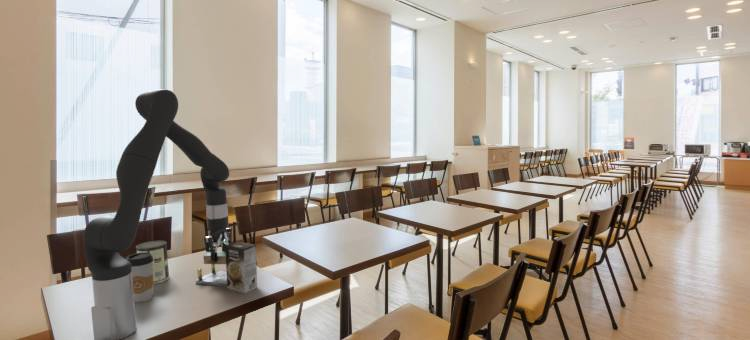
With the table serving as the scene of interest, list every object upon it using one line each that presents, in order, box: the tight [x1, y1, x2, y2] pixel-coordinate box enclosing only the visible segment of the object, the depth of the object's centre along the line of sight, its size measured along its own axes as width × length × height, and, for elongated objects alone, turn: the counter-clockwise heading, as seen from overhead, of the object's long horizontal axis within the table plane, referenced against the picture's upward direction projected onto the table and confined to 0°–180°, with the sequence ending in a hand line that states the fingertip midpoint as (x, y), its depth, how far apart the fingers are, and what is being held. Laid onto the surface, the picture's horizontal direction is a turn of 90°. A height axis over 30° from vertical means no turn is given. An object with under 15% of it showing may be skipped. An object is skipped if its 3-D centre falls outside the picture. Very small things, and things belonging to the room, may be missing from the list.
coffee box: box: [225, 241, 258, 294], centre depth 141 cm, size 9×6×16 cm
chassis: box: [195, 264, 227, 287], centre depth 150 cm, size 11×14×5 cm
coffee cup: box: [125, 252, 154, 303], centre depth 134 cm, size 8×8×15 cm
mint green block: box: [203, 250, 226, 265], centre depth 150 cm, size 10×6×3 cm, turn 85°
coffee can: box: [135, 240, 170, 285], centre depth 150 cm, size 10×10×14 cm
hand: (220, 258), depth 150 cm, fingers closed on mint green block, 6 cm apart
